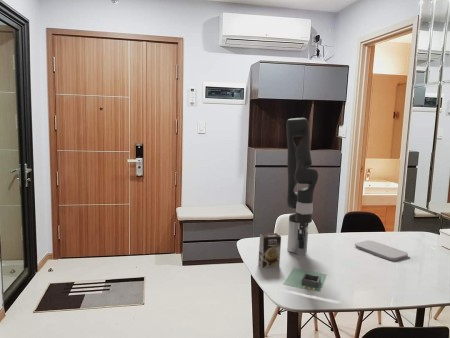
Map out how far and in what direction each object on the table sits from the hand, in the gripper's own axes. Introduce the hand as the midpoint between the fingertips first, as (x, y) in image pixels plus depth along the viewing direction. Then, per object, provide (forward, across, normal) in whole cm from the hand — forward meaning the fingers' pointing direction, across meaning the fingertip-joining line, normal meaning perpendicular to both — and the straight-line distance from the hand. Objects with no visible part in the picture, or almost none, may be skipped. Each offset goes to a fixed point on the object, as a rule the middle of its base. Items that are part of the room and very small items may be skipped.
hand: (302, 246), depth 169 cm
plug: (+3, 0, 0) cm, 3 cm away
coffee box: (+14, -3, -16) cm, 22 cm away
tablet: (+16, -53, +35) cm, 66 cm away
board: (+14, +7, +4) cm, 16 cm away
